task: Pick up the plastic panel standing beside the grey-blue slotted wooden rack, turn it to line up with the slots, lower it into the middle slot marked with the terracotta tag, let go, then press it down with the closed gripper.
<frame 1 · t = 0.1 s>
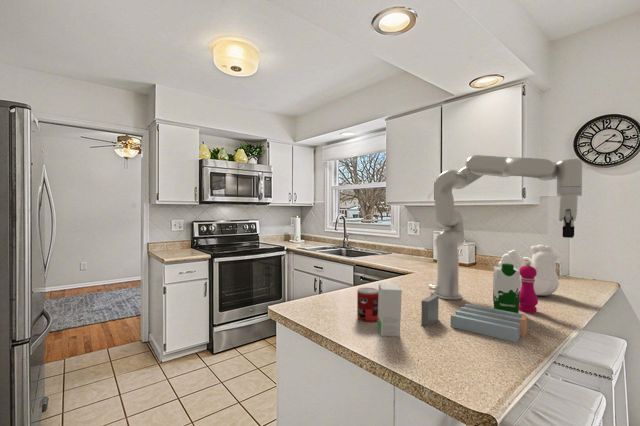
hand: (568, 236, 119), 31 cm above the counter, tool pointing down, fingers open, 9 cm apart
skincare box: (389, 332, 105), on the counter
milk carton: (505, 314, 124), on the counter
rack: (488, 326, 111), on the counter
panel: (430, 322, 114), on the counter
decorative rooster: (527, 293, 157), on the counter
pepper mill: (527, 311, 128), on the counter
canned food: (367, 319, 117), on the counter
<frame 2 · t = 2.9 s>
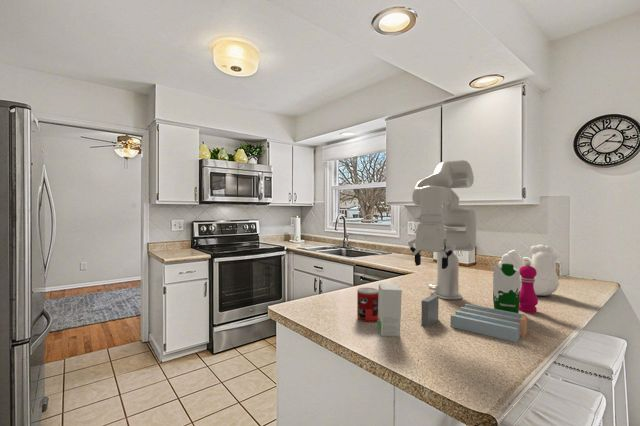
hand: (430, 266, 114), 20 cm above the counter, tool pointing down, fingers open, 9 cm apart
nothing on the counter moved.
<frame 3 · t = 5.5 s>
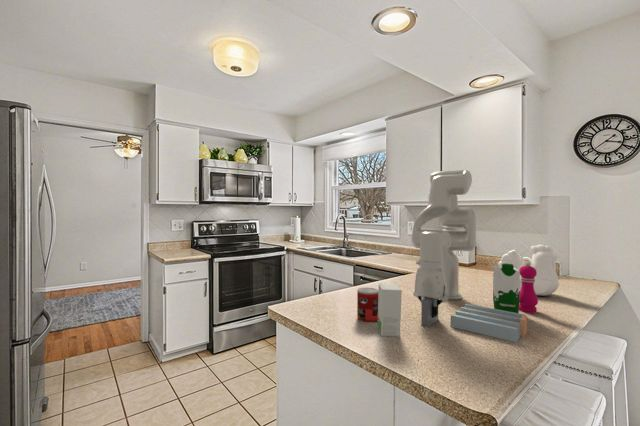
hand: (430, 315, 114), 3 cm above the counter, tool pointing down, fingers closed on panel, 2 cm apart
panel: (430, 322, 114), on the counter, touching gripper
everything else where it was.
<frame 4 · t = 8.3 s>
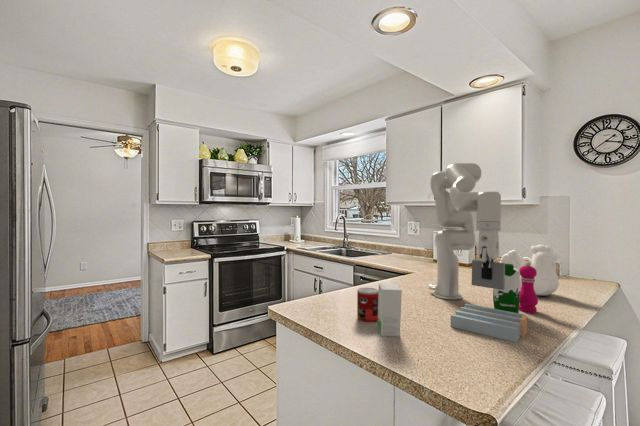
hand: (487, 278, 110), 17 cm above the counter, tool pointing down, fingers closed on panel
panel: (487, 286, 110), point 14 cm above the counter, touching gripper
everything else where it was.
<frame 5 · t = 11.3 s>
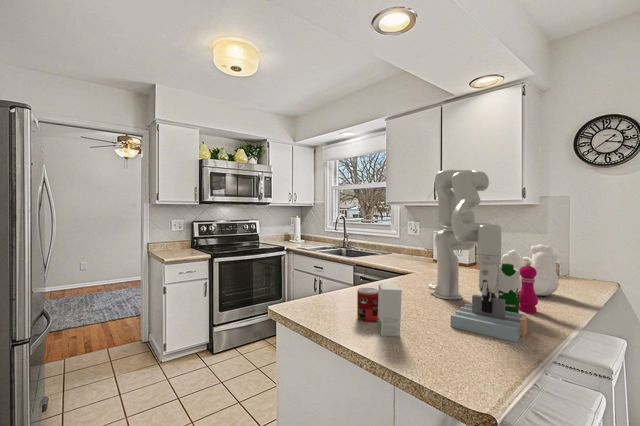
hand: (488, 310, 110), 6 cm above the counter, tool pointing down, fingers open, 3 cm apart
panel: (488, 322, 111), point 1 cm above the counter, touching rack
everything else where it was.
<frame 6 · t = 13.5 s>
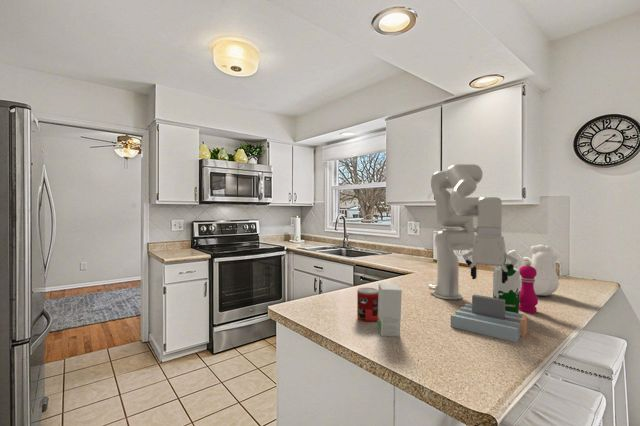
hand: (488, 280, 110), 16 cm above the counter, tool pointing down, fingers open, 9 cm apart
nothing on the counter moved.
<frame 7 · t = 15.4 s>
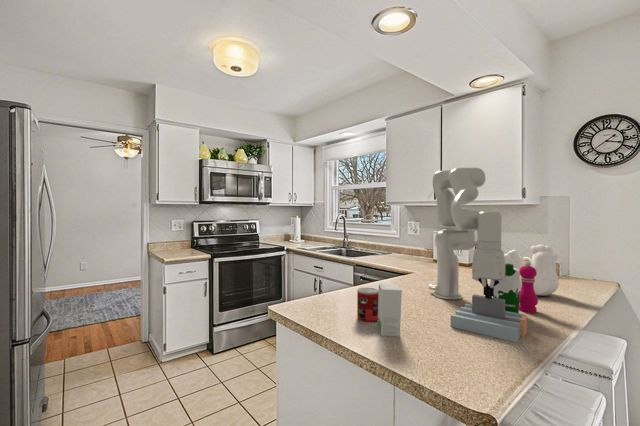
hand: (488, 297, 110), 10 cm above the counter, tool pointing down, fingers closed
panel: (488, 322, 111), point 1 cm above the counter, touching gripper, rack
everything else where it was.
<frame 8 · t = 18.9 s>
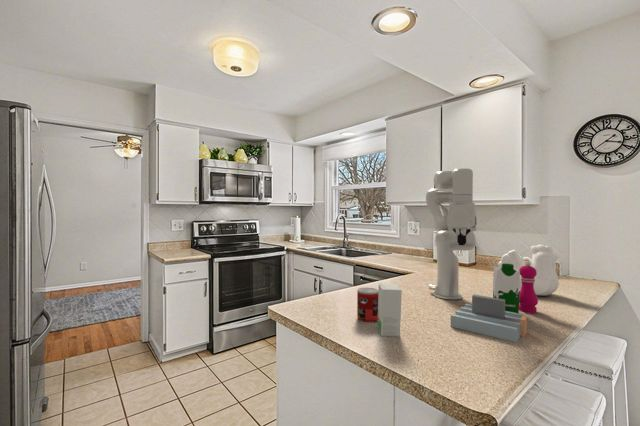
hand: (461, 245, 126), 27 cm above the counter, tool pointing down, fingers closed
panel: (488, 322, 111), point 1 cm above the counter, touching rack
everything else where it was.
at the end: panel 0.1 cm off-centre on the rack, point 1.1 cm above the rack's base; panel tilted 0°; the gripper is holding nothing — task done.
